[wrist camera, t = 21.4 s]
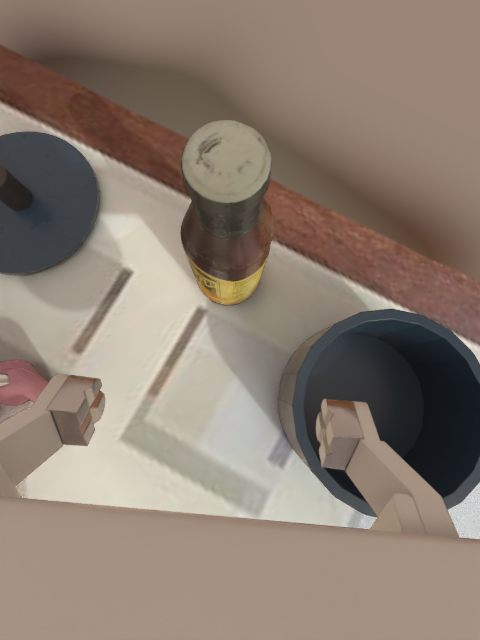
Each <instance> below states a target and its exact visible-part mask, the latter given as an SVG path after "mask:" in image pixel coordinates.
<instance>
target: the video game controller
mask: <svg viewBox="0 0 480 640" xmlns="http://www.w3.org/2000/svg"><path fill="white" fill-rule="evenodd" d="M48 383H49V382H48V381H47V380H45V379H44V378H43V377H42V376H41V375H39V374H38V373H37V372H36V371H35V370H34V368H33V366H32V365H31V364H30V363H28V362H26V361H23V360H8V361H3V362H0V402H1V403H2V404H4V405H6V406H15V405H20V404H22V403H25V402H26V401H28V400H31V401H32V402H35V401H36V400H37V398H38V397H39V395H40V394H41V393H42V391H43V390H44V388H45V387H46V386H47V384H48Z"/></svg>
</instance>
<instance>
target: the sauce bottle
mask: <svg viewBox="0 0 480 640" xmlns="http://www.w3.org/2000/svg"><path fill="white" fill-rule="evenodd" d="M271 163H272V162H271V154H270V151H269V149H268V147H267V145H266V142H265V140H264V139H263V137H262V136H261V135H260V134H259V133H258V132H257V131H256V130H254V129H253V128H252V127H249V126H246V125H244V124H242V123H240V122H237V121H233V120H221V121H215V122H210V123H208V124H206V125H204V126H202V127H201V128H200V129H198V130H196V131H195V132H194V133H193V135H192V136H191V138H190V139H189V140H188V142H187V144H186V146H185V147H184V149H183V153H182V160H181V169H182V174H183V181H184V185H185V189H186V191H187V193H188V195H189V196H190V198H191V199H192V202H191V204H190V206H189V208H188V210H187V213H186V215H185V217H184V219H183V222H182V226H181V240H182V244H183V247H184V250H185V252H186V255H187V257H188V260H189V262H190V265H191V268H192V270H193V273H194V275H195V278H196V280H197V283H198V285H199V288H200V289H201V291H202V292H203V293H204V294H205V295H206V296H207V297H208V298H209V299H211V300H212V301H213V302H217V303H220V304H226V305H235V304H238V303H240V302H242V301H244V300H246V299H248V298H249V297H250V296H251V295H252V294H253V292H254V291H255V289H256V288H257V285H258V283H259V280H260V277H261V274H262V271H263V268H264V266H265V263H266V260H267V257H268V254H269V251H270V244H271V241H272V236H273V218H272V212H271V208H270V206H269V205H268V203H267V202H266V200H265V199H264V198H263V197H264V195H265V193H266V191H267V189H268V186H269V182H270V175H271Z"/></svg>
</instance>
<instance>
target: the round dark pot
mask: <svg viewBox="0 0 480 640" xmlns="http://www.w3.org/2000/svg"><path fill="white" fill-rule="evenodd" d="M324 399H334V400H346V401H356V402H366V403H367V404H368V407H369V410H370V412H371V415H372V418H373V421H374V424H375V427H376V430H377V433H378V436H379V439H380V441H385V442H386V443H387V444H388V445H389V446H390V447H391V448H392V449H393V450H394V451H395V452H396V453H397V454H398V455H399V456H400V457H401V458H402V459H403V460H404V461H405V462H406V463H407V464H408V465H409V466H410V467H411V468H412V469H414V470H415V471H416V472H417V473H418V474H419V475H420V476H421V477H422V478H423V479H424V480H425V481H426V482H427V483H428V484H429V485H430V486H431V487H432V488H433V489H434V490H435V491H436V492H437V493H438V494H439V495H440V496H441V497H442V499H443V501H444V504H445V506H446V508H447V510H448V509H450V508H452V507H454V506H455V505H457V504H459V503H461V502H462V501H463V500H464V499H465V498H466V497H467V496H468V494H469V493H470V492H471V491H472V490H473V489H474V488H475V487H476V485H477V484H478V483H479V482H480V364H479V362H478V360H477V358H476V357H475V355H474V354H473V352H472V351H471V350H470V349H469V348H468V347H467V346H466V345H465V344H464V343H463V342H462V341H461V340H460V339H459V338H458V337H457V336H456V335H455V334H454V333H453V332H452V331H450V330H449V329H447V328H445V327H443V326H442V325H440V324H438V323H436V322H434V321H432V320H430V319H429V318H427V317H425V316H423V315H420V314H415V313H410V312H405V311H400V310H395V309H385V310H375V311H366V312H360V313H358V314H356V315H354V316H352V317H349V318H347V319H345V320H343V321H341V322H338V323H336V324H334V325H332V326H330V327H329V328H327V329H325V330H323V331H321V332H319V333H318V334H316V335H314V336H312V337H310V338H309V339H308V340H307V341H306V342H305V343H304V344H303V345H302V346H300V347H299V348H298V349H297V350H296V351H295V352H294V354H293V355H292V357H291V358H290V360H289V362H288V363H287V365H286V367H285V370H284V372H283V374H282V378H281V382H280V386H279V393H278V407H279V415H280V419H281V425H282V427H283V429H284V432H285V434H286V436H287V438H288V440H289V442H290V444H291V447H292V448H293V449H294V450H295V452H296V453H297V454H298V455H299V457H300V458H301V459H302V460H303V461H304V463H305V464H306V465H307V466H308V467H309V469H310V470H311V471H312V472H313V473H314V474H315V476H316V477H317V478H318V479H319V480H320V481H321V482H322V483H323V485H324V486H325V487H326V488H327V489H328V490H329V491H330V492H331V494H332V495H333V496H335V497H336V498H337V499H339V500H341V501H342V502H344V503H346V504H347V505H349V506H351V507H352V508H354V509H356V510H357V511H359V512H361V513H363V514H365V515H368V516H373V517H377V518H378V516H377V515H376V513H375V512H374V510H373V509H372V508H371V506H370V505H369V504H368V502H367V501H366V499H365V498H364V497H363V495H362V494H361V493H360V491H359V490H358V488H357V487H356V486H355V484H354V483H353V481H352V480H351V479H350V477H349V476H348V475H347V473H346V472H345V471H346V470H340V469H331V468H323V467H321V461H320V455H319V448H320V445H321V443H320V442H319V441H318V440H317V436H316V420H317V416H318V414H319V413H320V412H322V409H321V404H322V401H323V400H324Z"/></svg>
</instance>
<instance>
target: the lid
mask: <svg viewBox="0 0 480 640" xmlns="http://www.w3.org/2000/svg"><path fill="white" fill-rule="evenodd" d="M98 209H99V187H98V182H97V179H96V176H95V174H94V172H93V170H92V168H91V166H90V164H89V163H88V162H87V160H86V159H85V157H84V156H83V155H82V154H81V153H80V152H79V151H78V150H77V149H76V148H75V147H73V146H72V145H71V144H69V143H67V142H66V141H64V140H62V139H60V138H57V137H55V136H52V135H49V134H45V133H39V132H16V133H10V134H6V135H2V136H0V273H1V274H9V275H21V274H29V273H34V272H39V271H42V270H45V269H47V268H50V267H52V266H54V265H56V264H58V263H60V262H61V261H63V260H64V259H66V258H67V257H69V256H70V255H71V254H72V253H73V252H75V251H76V250H77V249H78V248H79V246H80V245H81V244H82V243H83V242H84V240H85V239H86V238H87V236H88V235H89V233H90V231H91V229H92V228H93V225H94V223H95V220H96V217H97V213H98Z"/></svg>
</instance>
